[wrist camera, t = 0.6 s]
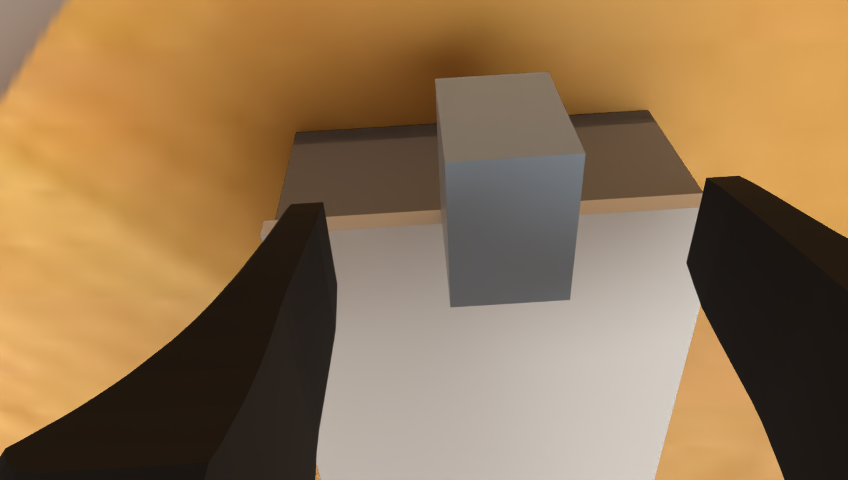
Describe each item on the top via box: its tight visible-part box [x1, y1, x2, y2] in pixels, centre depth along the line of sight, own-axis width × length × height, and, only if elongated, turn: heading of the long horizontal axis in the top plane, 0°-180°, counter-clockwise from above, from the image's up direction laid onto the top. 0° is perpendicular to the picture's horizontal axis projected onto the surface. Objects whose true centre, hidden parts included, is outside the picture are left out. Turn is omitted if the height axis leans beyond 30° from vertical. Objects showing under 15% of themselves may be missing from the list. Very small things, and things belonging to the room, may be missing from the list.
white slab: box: [260, 71, 703, 480], centre depth 19 cm, size 18×11×4 cm, turn 3°
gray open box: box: [275, 110, 703, 220], centre depth 23 cm, size 14×11×5 cm
